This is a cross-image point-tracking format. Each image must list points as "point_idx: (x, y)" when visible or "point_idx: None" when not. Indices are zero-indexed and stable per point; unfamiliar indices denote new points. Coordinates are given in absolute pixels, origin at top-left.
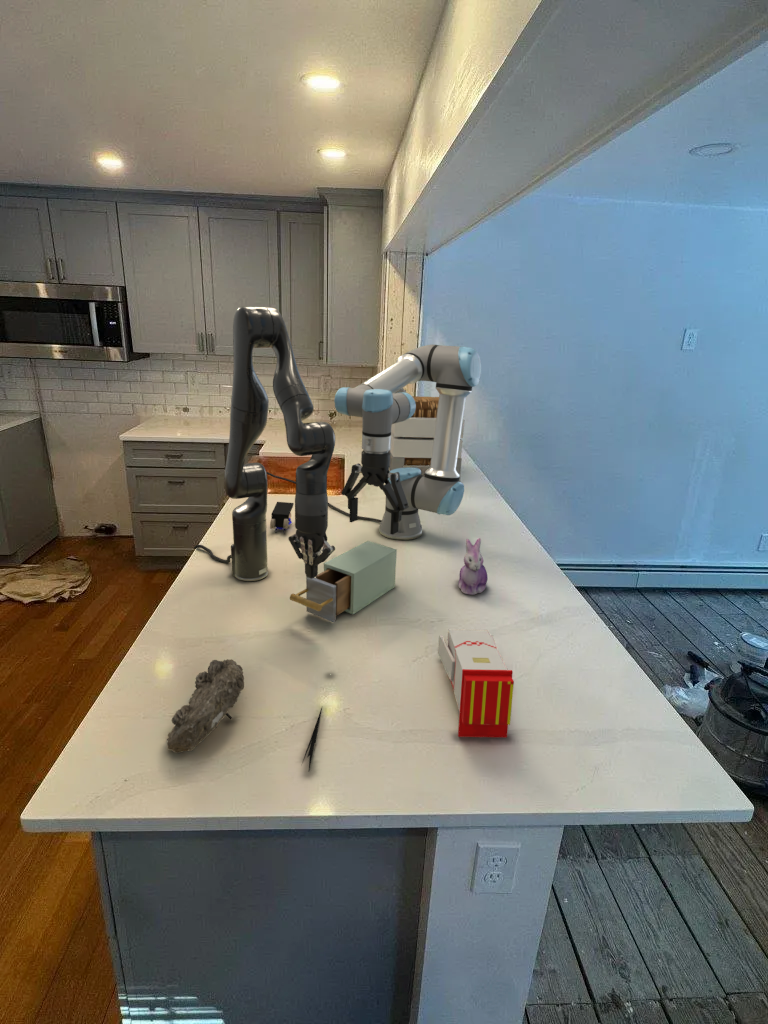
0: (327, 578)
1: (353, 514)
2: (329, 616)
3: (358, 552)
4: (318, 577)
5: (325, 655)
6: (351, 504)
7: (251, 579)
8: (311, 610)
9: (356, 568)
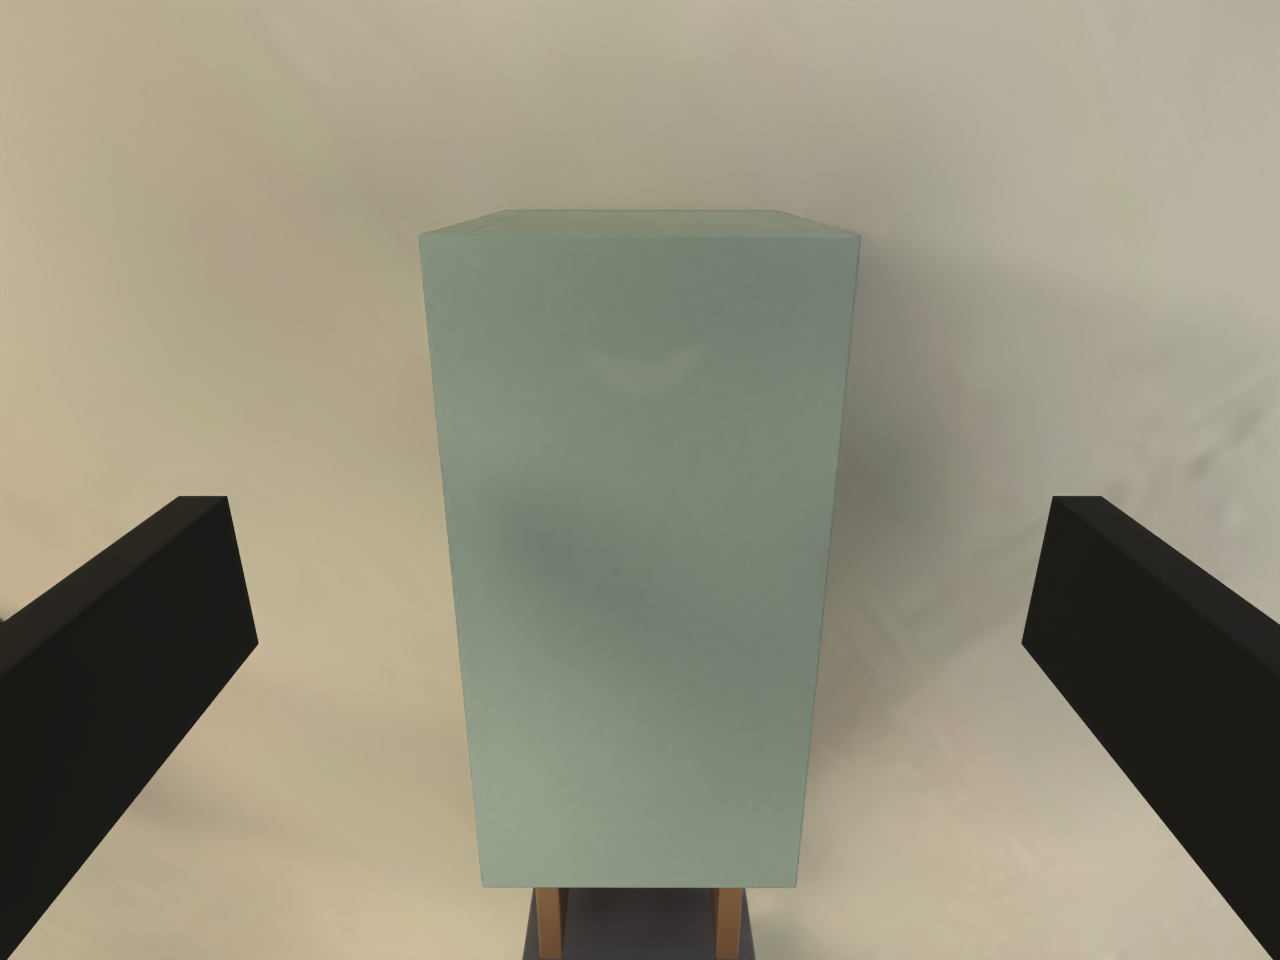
0: None
1: (179, 683)
2: None
3: (561, 571)
4: (562, 946)
5: (842, 954)
6: (20, 924)
7: None
8: None
9: (757, 819)
